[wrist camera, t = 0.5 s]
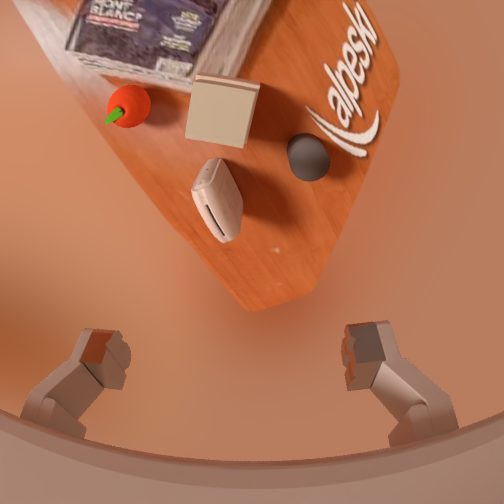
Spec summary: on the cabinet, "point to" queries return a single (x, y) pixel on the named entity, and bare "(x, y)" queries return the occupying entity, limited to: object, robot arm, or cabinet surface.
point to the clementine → (128, 106)
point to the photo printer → (218, 200)
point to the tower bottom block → (238, 82)
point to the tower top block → (219, 112)
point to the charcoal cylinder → (307, 157)
